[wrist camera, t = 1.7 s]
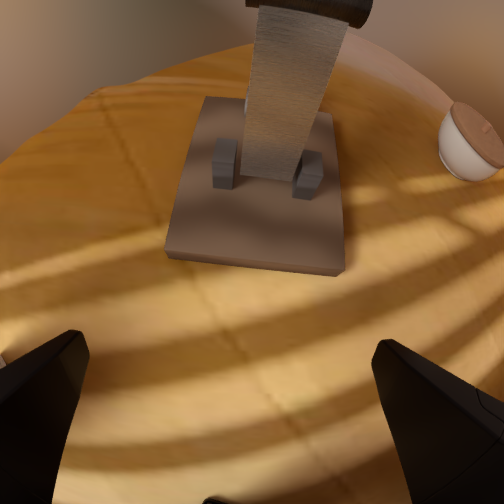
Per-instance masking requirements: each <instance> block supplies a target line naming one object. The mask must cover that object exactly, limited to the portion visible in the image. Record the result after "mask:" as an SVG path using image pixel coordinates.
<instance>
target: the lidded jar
mask: <svg viewBox="0 0 504 504" xmlns="http://www.w3.org/2000/svg"><path fill="white" fill-rule="evenodd" d="M438 145H439V156H440V158H441V160H442V162H443V164H444V165H445V167H446V168H447V169H448V170H449V172H450V173H452V174H453V175H454V176H455V177H457V178H458V179H461V180H468V181H482V180H485V179H487V178H489V177H491V176H493V175H494V174H495V173H496V172H498V171H499V170H500V169H502V168H503V167H504V145H503V143H502V142H501V140H500V138H499V136H498V135H497V133H496V132H495V130H494V129H493V128H492V125H491V124H490V123H489V122H488V121H486V120H485V119H484V118H483V117H482V116H481V115H480V114H479V113H478V112H477V111H475V110H474V109H472V108H471V107H470V106H468V105H466V104H464V103H461V102H455V103H454V104H453V105H452V107H451V108H450V111H449V112H448V113H447V115H446V116H445V118H444V120H443V122H442V123H441V126H440V129H439V133H438Z"/></svg>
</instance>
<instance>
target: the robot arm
mask: <svg viewBox="0 0 504 504" xmlns="http://www.w3.org/2000/svg"><path fill="white" fill-rule="evenodd" d="M89 357H90V355H89V350H88V347H87V344H86V341H85V338H84V335H83V333H82V332H81V331H78V330H68V331H66V332H64V333H62V334H61V335H59V336H57V337H55V338H54V339H52V340H50V341H48V342H46V343H45V344H43V345H41V346H39V347H38V348H36V349H34V350H32V351H31V352H29V353H27V354H25V355H23V356H22V357H20V358H18V359H17V360H15V361H13V362H11V363H10V364H8V365H6V366H4V367H3V368H1V369H0V504H52V498H53V493H54V488H55V483H56V479H57V474H58V470H59V466H60V462H61V458H62V454H63V450H64V446H65V443H66V439H67V436H68V432H69V429H70V426H71V423H72V420H73V416H74V413H75V410H76V407H77V404H78V401H79V398H80V394H81V390H82V385H83V381H84V377H85V373H86V369H87V366H88V362H89ZM371 366H372V370H373V374H374V378H375V381H376V385H377V389H378V393H379V398H380V401H381V405H382V408H383V411H384V414H385V417H386V420H387V422H388V425H389V428H390V431H391V434H392V437H393V440H394V443H395V446H396V449H397V452H398V455H399V459H400V462H401V465H402V468H403V472H404V475H405V478H406V482H407V485H408V489H409V492H410V496H411V500H412V504H504V402H502V401H500V400H497V399H495V398H494V397H492V396H490V395H488V394H486V393H484V392H483V391H481V390H479V389H478V388H475V387H474V386H472V385H471V384H469V383H467V382H465V381H464V380H462V379H460V378H459V377H457V376H455V375H453V374H452V373H450V372H448V371H446V370H445V369H443V368H441V367H440V366H438V365H436V364H434V363H433V362H431V361H429V360H428V359H426V358H424V357H422V356H421V355H419V354H417V353H416V352H414V351H412V350H410V349H409V348H407V347H405V346H404V345H402V344H400V343H398V342H397V341H395V340H393V339H385V340H381V341H380V342H379V343H378V345H377V348H376V350H375V353H374V355H373V358H372V362H371ZM207 503H212V504H227V503H224V502H220V501H217V500H214V499H209V498H208V499H205V500H204V501H203V503H202V504H207Z"/></svg>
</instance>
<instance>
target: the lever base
mask: <svg viewBox="0 0 504 504" xmlns="http://www.w3.org/2000/svg"><path fill="white" fill-rule="evenodd" d="M248 92H249V86H248V90H247V96H246V99H236V98H225V97H211V96H206V97H205V100H204V103H203V106H202V109H201V112H200V115H199V118H198V121H197V124H196V127H195V131H194V134H193V137H192V140H191V144H190V147H189V150H188V154H187V157H186V161H185V164H184V168H183V172H182V175H181V179H180V183H179V187H178V191H177V195H176V199H175V203H174V207H173V211H172V215H171V220H170V224H169V229H168V233H167V238H166V243H165V247H164V250H165V252H166V254H167V256H168V258H171V259H179V260H187V261H196V262H204V263H212V264H221V265H230V266H238V267H247V268H256V269H265V270H274V271H284V272H293V273H303V274H313V275H322V276H332V277H336V276H338V275H339V274H340V273H342V272H343V271H344V270H345V251H344V228H343V212H342V198H341V186H340V176H339V166H338V157H337V149H336V141H335V134H334V127H333V120H332V114H329V113H325V112H320V111H317V114H316V117H315V119H314V122H313V125H312V128H311V130H310V133H309V136H308V138H307V141H306V144H305V146H304V149H303V152H302V155H301V157H300V160H299V163H298V165H297V168H296V171H295V173H294V176H293V178H292V181H291V182H290V181H283V180H276V179H269V178H262V177H254V176H246V175H240V168H241V158H242V148H243V138H244V129H245V119H246V110H247V101H248Z"/></svg>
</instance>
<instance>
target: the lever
mask: <svg viewBox="0 0 504 504" xmlns="http://www.w3.org/2000/svg"><path fill="white" fill-rule="evenodd" d="M245 4H246V7H254V8H259V12H258V19H257V27H256V35H255V43H254V50H253V59H252V67H251V75H250V84H249V92H248V101H247V110H246V119H245V129H244V138H243V148H242V158H241V168H240V175H246V176H254V177H262V178H269V179H276V180H283V181H290V182H291V181H292V178H293V176H294V173H295V171H296V168H297V165H298V163H299V160H300V157H301V155H302V152H303V149H304V146H305V144H306V141H307V138H308V136H309V133H310V130H311V128H312V125H313V122H314V119H315V117H316V114H317V111H318V109H319V106H320V103H321V100H322V98H323V95H324V92H325V89H326V87H327V84H328V81H329V78H330V76H331V73H332V70H333V67H334V64H335V62H336V59H337V56H338V53H339V50H340V48H341V45H342V42H343V39H344V36H345V33H346V31H347V28H348V26H350V27H353V28H356V29H359V28H361V27H362V26H363V25H364V24H365V22H366V21H367V18H368V16H369V14H370V11H371V8H372V4H373V0H246V3H245Z"/></svg>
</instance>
